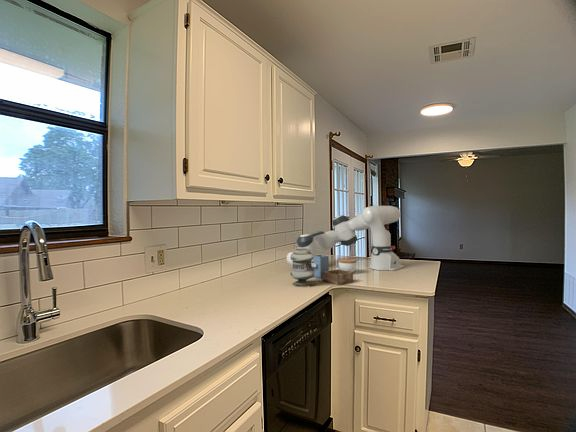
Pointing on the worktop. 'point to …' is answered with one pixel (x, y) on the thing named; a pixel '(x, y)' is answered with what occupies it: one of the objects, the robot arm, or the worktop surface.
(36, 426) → the worktop surface
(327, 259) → the slate crate
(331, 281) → the walnut crate
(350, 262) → the lidded jar
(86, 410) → the worktop surface
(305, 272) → the apothecary jar
